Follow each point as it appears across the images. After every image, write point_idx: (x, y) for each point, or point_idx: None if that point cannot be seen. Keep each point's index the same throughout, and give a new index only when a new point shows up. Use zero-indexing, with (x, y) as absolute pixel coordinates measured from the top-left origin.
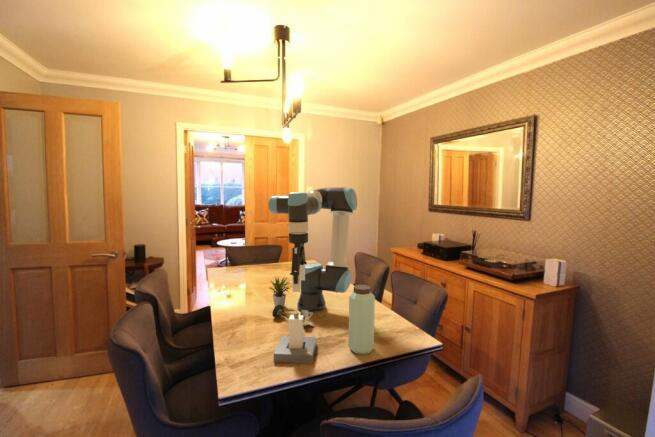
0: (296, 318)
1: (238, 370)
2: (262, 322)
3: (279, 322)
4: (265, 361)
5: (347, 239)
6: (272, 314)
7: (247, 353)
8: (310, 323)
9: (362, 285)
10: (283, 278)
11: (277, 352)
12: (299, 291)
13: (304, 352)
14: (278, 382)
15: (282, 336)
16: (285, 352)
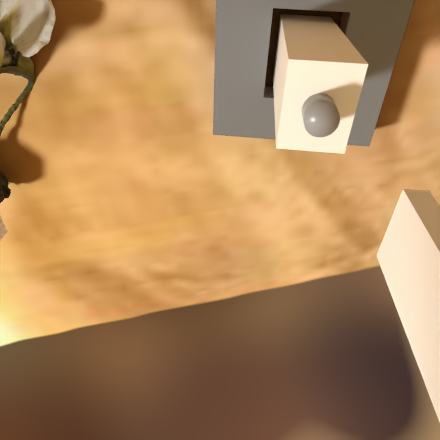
0: (339, 105)
1: None
2: (61, 215)
3: (38, 157)
4: (355, 160)
5: None
6: (6, 197)
7: (293, 221)
8: (24, 2)
9: None
10: None
11: (362, 133)
12: (431, 197)
13: (388, 2)
14: None
15: (218, 132)
16: (369, 100)
